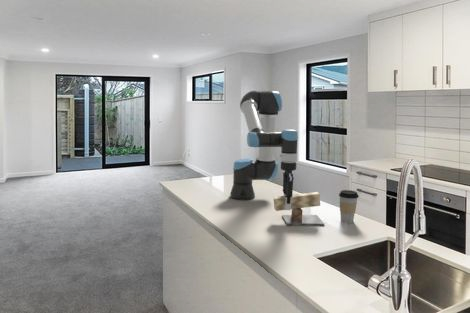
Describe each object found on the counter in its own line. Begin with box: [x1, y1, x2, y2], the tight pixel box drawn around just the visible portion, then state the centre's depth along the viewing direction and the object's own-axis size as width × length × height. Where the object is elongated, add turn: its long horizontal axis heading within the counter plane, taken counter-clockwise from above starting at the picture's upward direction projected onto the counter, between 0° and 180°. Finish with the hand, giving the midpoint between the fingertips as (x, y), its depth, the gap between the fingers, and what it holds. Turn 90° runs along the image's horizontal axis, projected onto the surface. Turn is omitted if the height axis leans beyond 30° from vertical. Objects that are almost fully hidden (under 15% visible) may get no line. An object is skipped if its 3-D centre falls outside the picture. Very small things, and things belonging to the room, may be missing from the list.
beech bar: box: [273, 191, 321, 212], centre depth 186 cm, size 22×4×6 cm, turn 93°
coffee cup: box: [338, 189, 360, 224], centre depth 187 cm, size 9×9×15 cm
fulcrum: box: [281, 208, 325, 227], centre depth 187 cm, size 18×14×7 cm
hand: (286, 208), depth 186 cm, fingers closed on beech bar, 4 cm apart
